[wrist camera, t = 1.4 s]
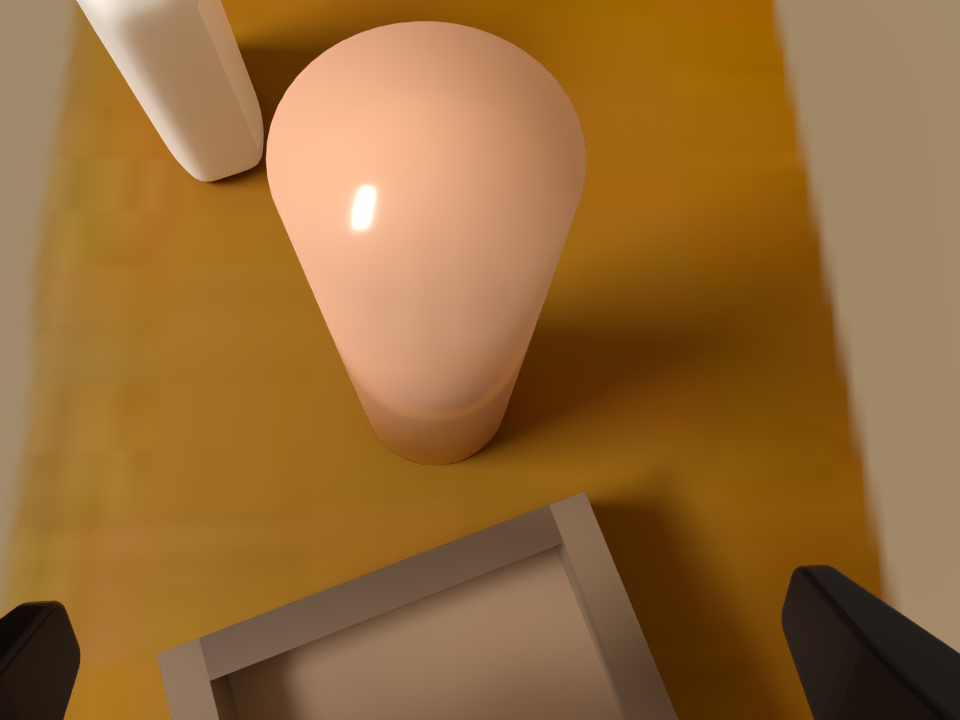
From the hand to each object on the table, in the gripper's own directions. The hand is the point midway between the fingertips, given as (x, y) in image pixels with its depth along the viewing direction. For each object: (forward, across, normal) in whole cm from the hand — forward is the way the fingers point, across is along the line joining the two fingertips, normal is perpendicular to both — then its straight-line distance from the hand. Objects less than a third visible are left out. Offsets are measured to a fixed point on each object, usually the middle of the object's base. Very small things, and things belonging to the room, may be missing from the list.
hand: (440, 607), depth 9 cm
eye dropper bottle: (+20, +8, -3) cm, 22 cm away
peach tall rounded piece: (+13, 0, +4) cm, 14 cm away
